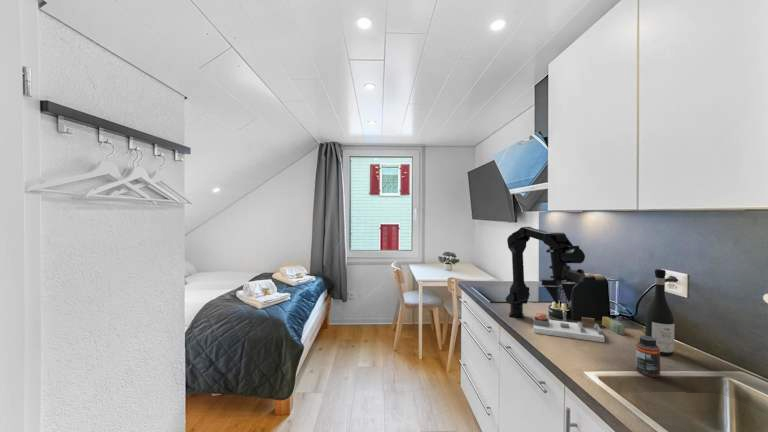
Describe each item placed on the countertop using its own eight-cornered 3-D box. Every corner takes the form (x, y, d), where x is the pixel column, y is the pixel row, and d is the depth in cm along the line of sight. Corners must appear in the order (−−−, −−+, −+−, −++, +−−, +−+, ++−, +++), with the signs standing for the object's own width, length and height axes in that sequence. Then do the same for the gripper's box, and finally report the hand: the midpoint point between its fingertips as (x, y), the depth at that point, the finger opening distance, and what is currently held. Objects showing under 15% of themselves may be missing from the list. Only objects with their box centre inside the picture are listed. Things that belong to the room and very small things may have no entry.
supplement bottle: (651, 369, 106) (651, 334, 106) (665, 378, 100) (665, 341, 100) (631, 368, 107) (631, 333, 106) (644, 377, 101) (644, 341, 100)
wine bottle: (679, 357, 114) (680, 272, 114) (653, 355, 116) (654, 271, 115) (664, 347, 122) (665, 268, 122) (640, 346, 123) (641, 267, 123)
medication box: (625, 335, 135) (625, 325, 135) (618, 334, 135) (618, 325, 135) (607, 325, 147) (608, 316, 147) (601, 324, 147) (601, 316, 147)
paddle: (581, 325, 139) (581, 317, 139) (594, 326, 138) (594, 318, 138) (582, 326, 138) (582, 317, 138) (594, 327, 137) (594, 319, 137)
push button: (536, 317, 145) (536, 312, 145) (546, 318, 144) (546, 313, 144) (536, 319, 142) (536, 315, 142) (546, 321, 140) (546, 316, 140)
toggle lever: (562, 320, 140) (561, 310, 142) (566, 321, 140) (566, 311, 141) (562, 320, 139) (562, 310, 140) (567, 321, 138) (566, 311, 139)
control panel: (533, 322, 150) (533, 313, 150) (597, 330, 140) (597, 320, 140) (533, 332, 137) (534, 323, 137) (604, 342, 127) (604, 332, 127)
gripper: (567, 264, 122) (571, 307, 120) (591, 262, 132) (596, 301, 130) (538, 264, 131) (543, 304, 129) (563, 262, 141) (567, 299, 139)
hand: (563, 302), depth 132 cm, fingers open, 9 cm apart
